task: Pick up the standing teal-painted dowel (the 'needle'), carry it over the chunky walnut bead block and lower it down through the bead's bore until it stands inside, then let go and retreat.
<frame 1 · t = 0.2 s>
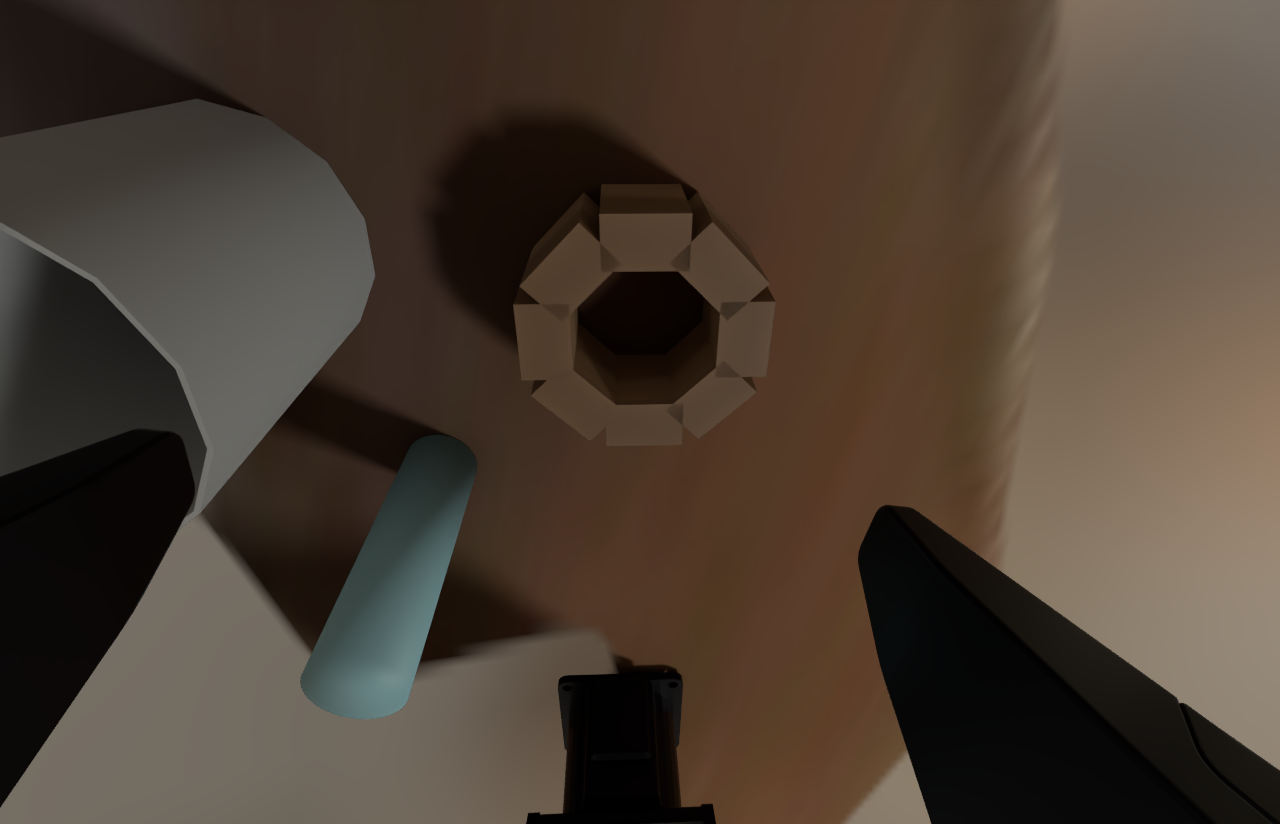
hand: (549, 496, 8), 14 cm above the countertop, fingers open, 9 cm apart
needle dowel: (442, 463, 25), on the countertop
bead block: (640, 297, 22), on the countertop
cup: (243, 241, 20), on the countertop
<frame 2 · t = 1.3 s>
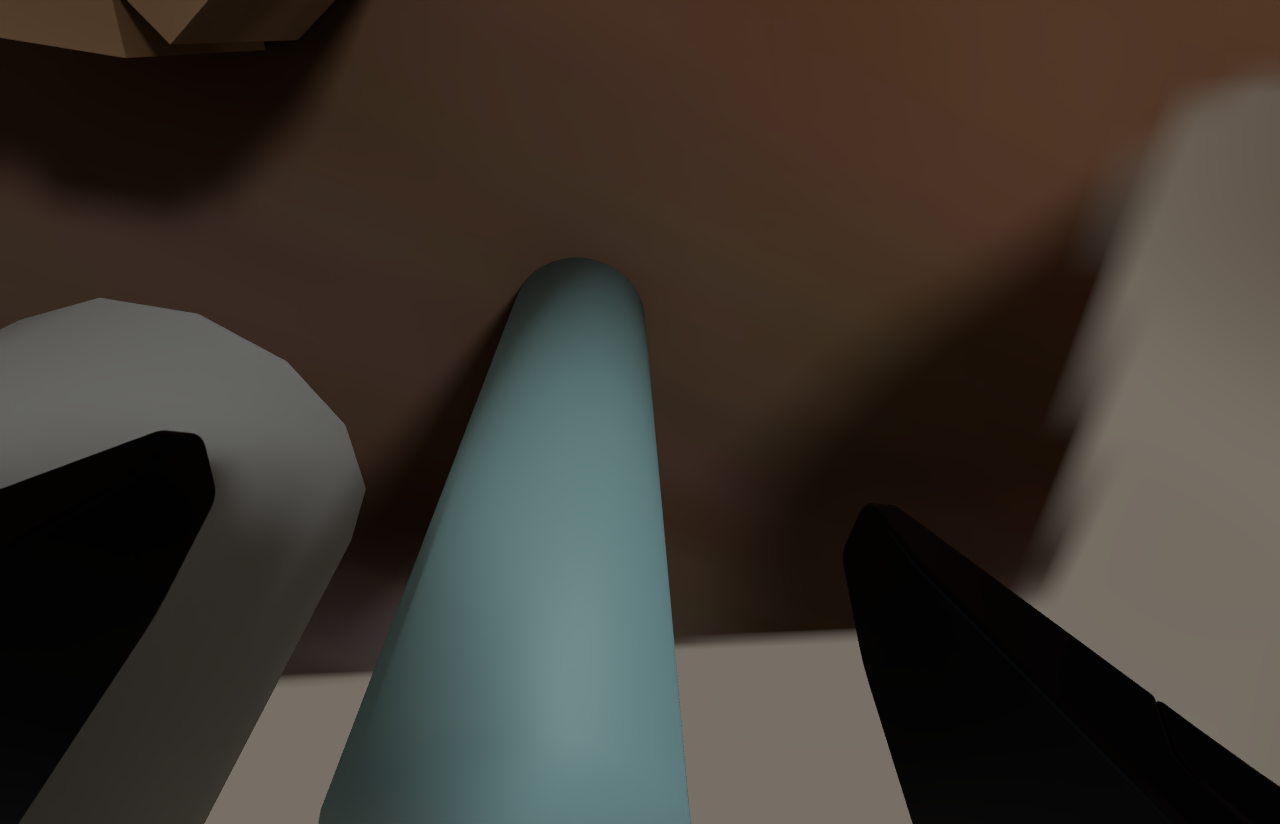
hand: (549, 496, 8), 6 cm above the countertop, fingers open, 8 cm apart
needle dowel: (579, 321, 13), on the countertop
cup: (190, 457, 15), on the countertop, touching gripper
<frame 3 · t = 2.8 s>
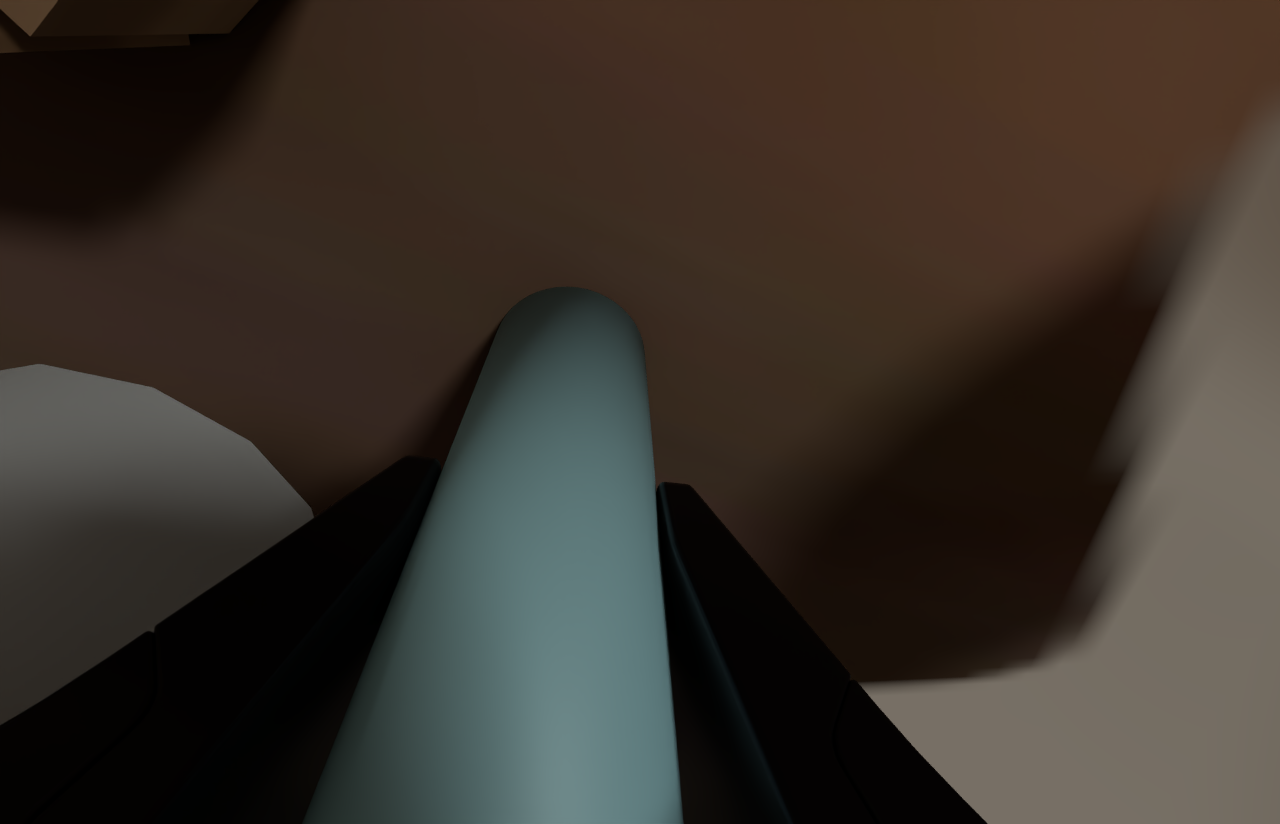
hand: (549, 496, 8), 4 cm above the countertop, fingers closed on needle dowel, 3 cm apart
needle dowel: (569, 358, 12), on the countertop, touching gripper
cup: (131, 530, 14), on the countertop
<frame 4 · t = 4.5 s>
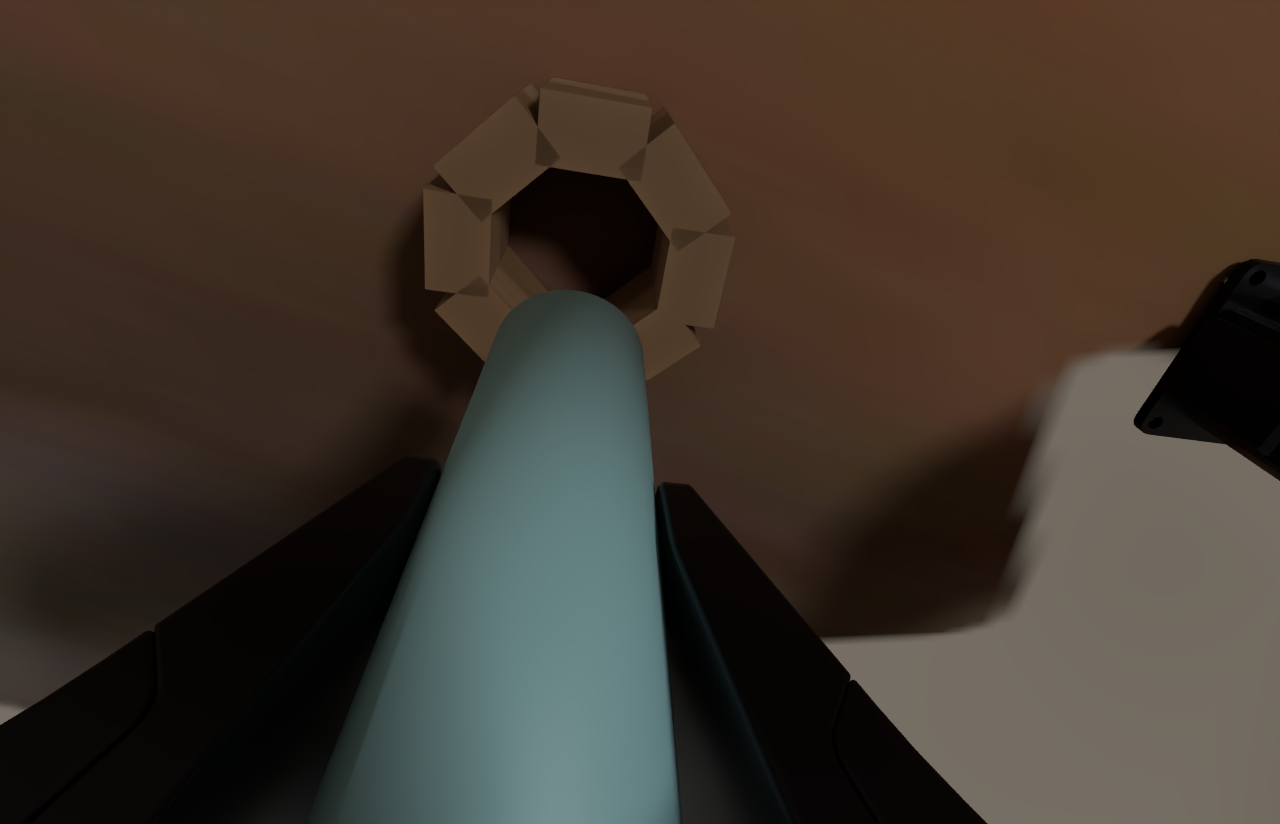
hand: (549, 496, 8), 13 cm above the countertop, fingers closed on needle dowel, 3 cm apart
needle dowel: (568, 361, 12), point 9 cm above the countertop, touching gripper
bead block: (583, 226, 19), on the countertop
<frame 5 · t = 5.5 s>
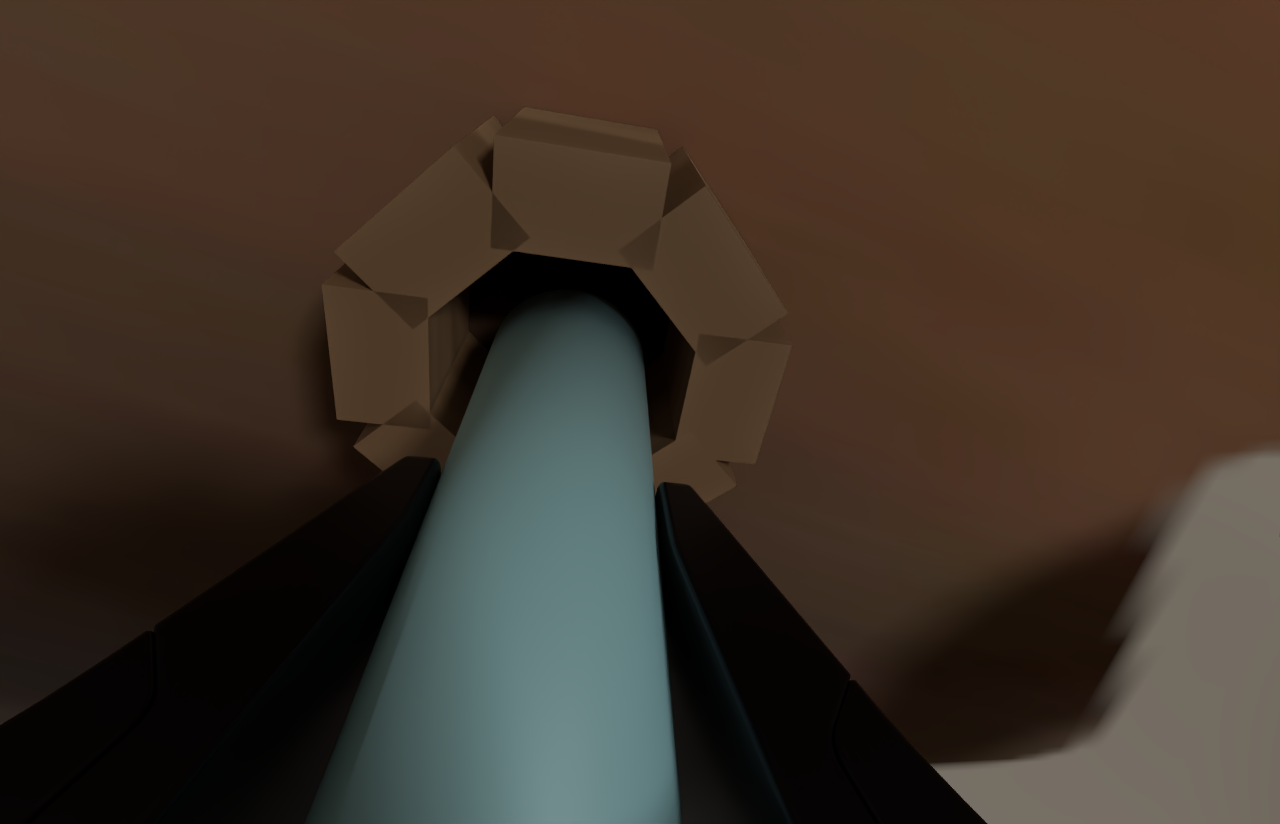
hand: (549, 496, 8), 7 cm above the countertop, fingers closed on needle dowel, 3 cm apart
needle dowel: (568, 361, 12), point 2 cm above the countertop, touching gripper
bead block: (571, 305, 14), on the countertop
when the fingers open (4 cm above the countertop, at t = 6.5 s): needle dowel stays where it is, resting in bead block.
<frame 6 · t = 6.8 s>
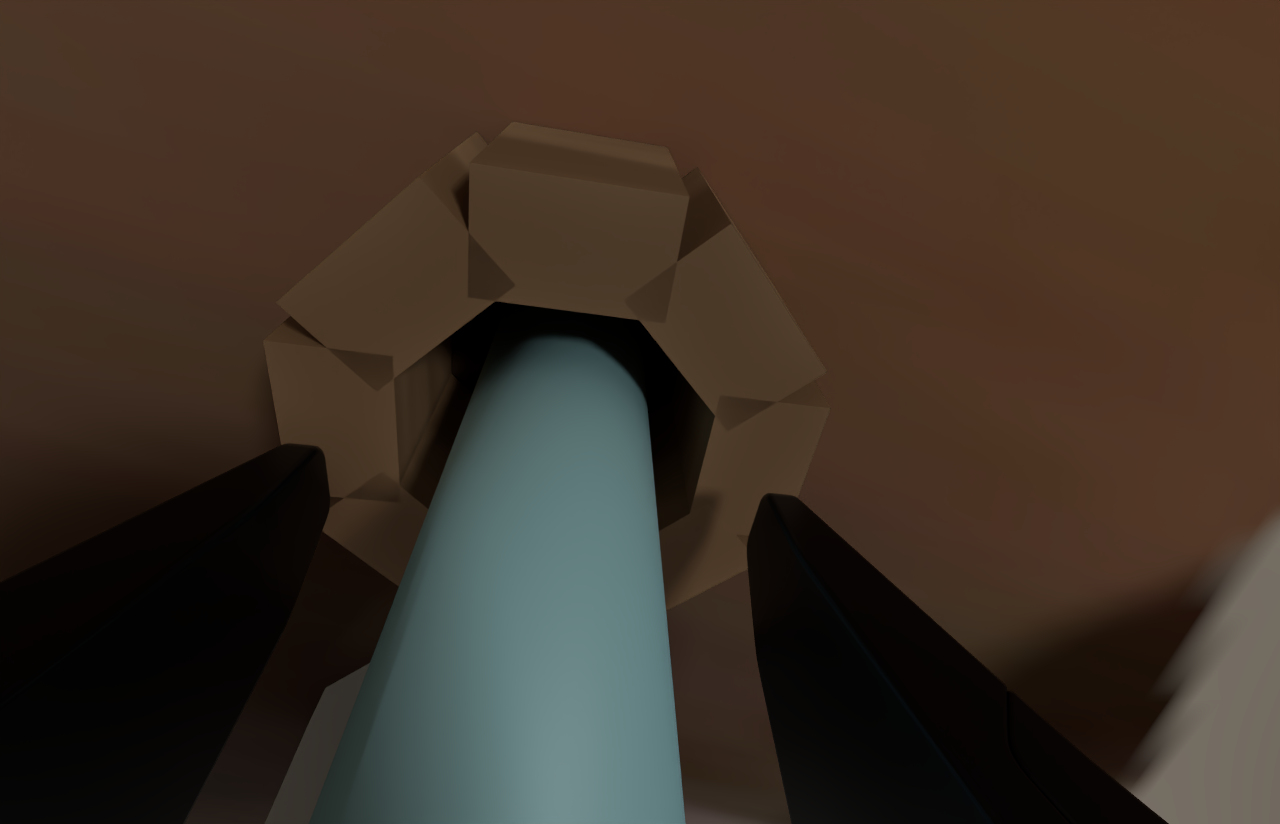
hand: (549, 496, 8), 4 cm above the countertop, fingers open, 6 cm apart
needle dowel: (569, 349, 12), resting in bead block
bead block: (568, 346, 12), on the countertop
cup: (457, 735, 19), on the countertop
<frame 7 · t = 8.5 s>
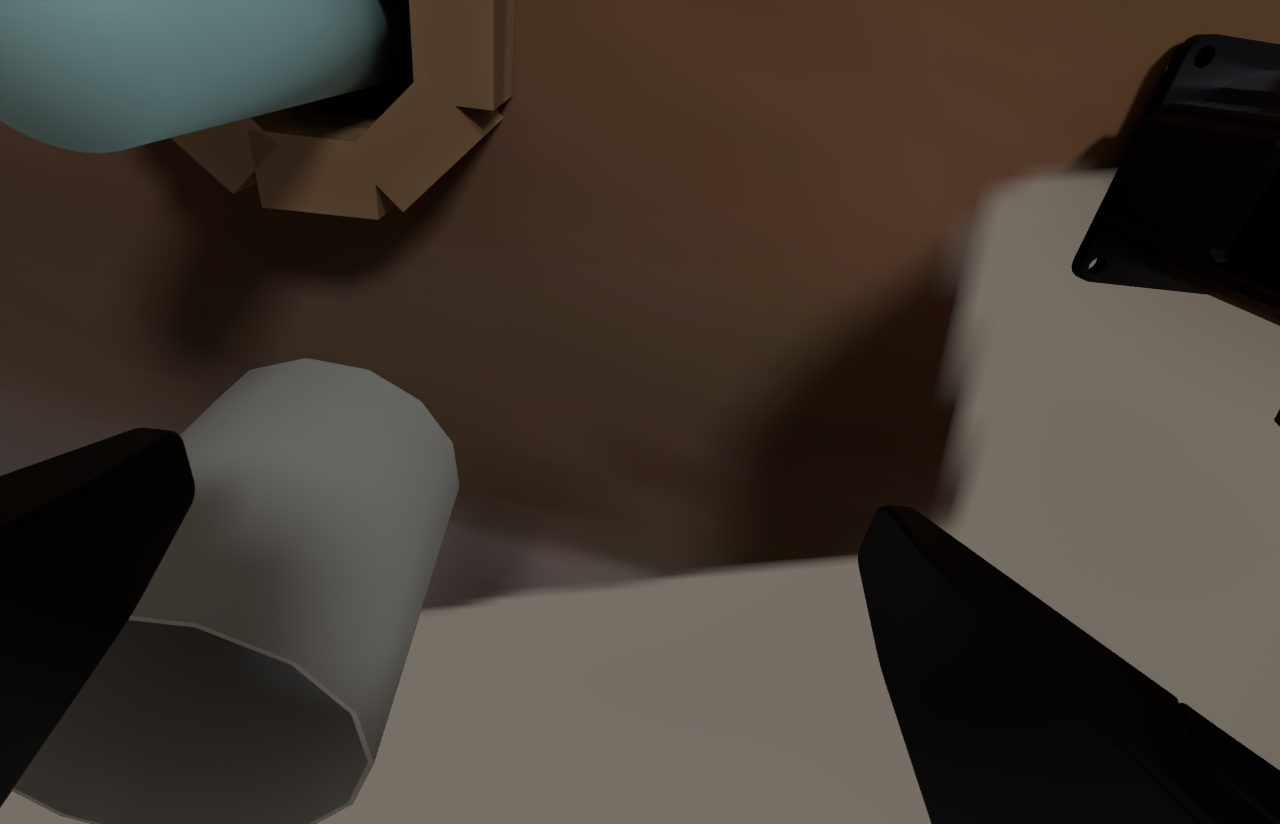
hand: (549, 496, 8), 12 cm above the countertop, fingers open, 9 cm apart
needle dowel: (355, 20, 15), resting in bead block
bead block: (353, 17, 15), on the countertop
cup: (338, 463, 22), on the countertop
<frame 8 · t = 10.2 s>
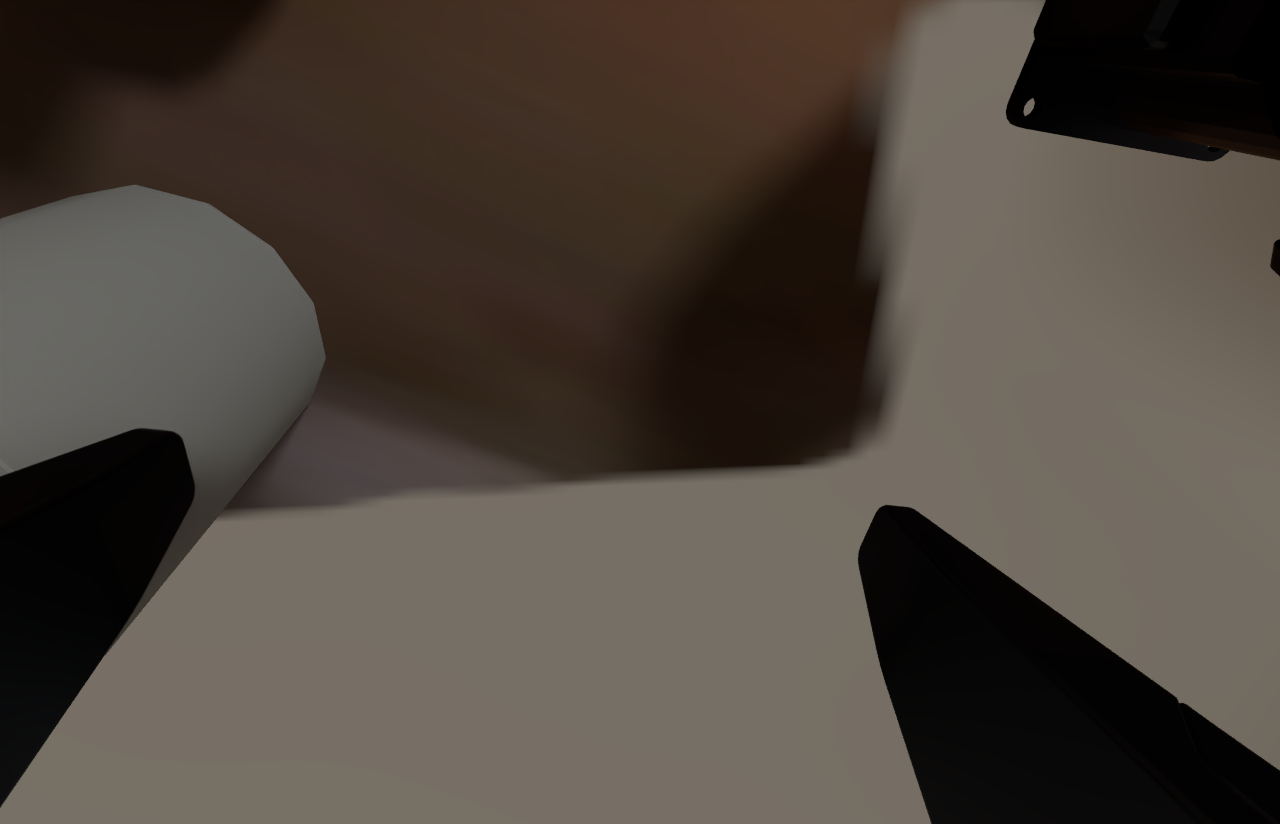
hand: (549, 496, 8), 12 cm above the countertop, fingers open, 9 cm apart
cup: (187, 322, 20), on the countertop
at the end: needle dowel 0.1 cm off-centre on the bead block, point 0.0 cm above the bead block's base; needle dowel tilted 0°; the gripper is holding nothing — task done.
